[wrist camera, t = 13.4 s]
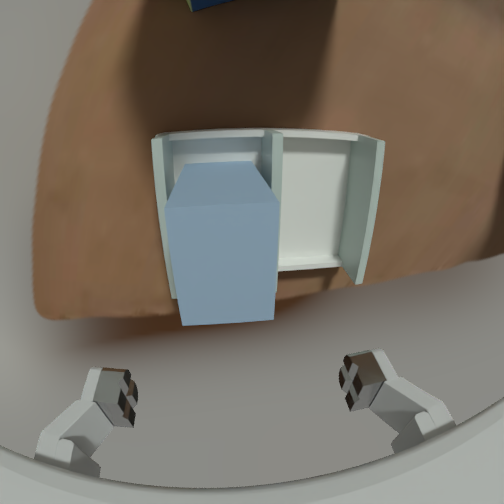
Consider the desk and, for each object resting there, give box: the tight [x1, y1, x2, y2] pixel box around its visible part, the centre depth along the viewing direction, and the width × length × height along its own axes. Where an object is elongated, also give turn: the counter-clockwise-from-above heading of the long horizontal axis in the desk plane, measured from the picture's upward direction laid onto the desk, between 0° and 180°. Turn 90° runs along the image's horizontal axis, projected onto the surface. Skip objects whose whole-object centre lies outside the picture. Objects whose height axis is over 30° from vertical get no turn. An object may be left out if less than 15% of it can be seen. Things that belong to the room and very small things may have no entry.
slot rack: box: [151, 128, 385, 299], centre depth 26 cm, size 19×14×6 cm
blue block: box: [164, 161, 280, 326], centre depth 22 cm, size 6×8×12 cm
